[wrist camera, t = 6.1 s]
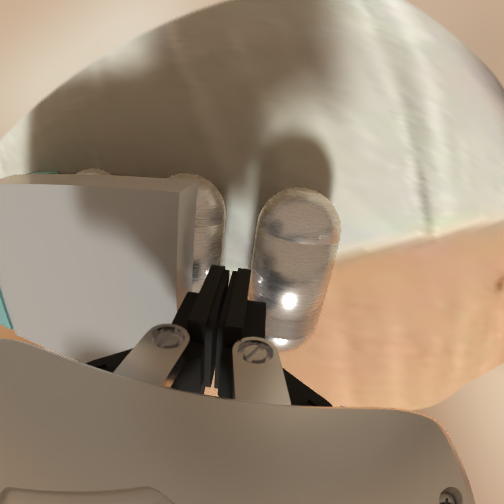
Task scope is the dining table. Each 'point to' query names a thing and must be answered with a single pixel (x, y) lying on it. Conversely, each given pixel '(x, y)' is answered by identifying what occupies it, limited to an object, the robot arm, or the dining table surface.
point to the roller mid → (206, 228)
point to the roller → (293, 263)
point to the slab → (94, 258)
